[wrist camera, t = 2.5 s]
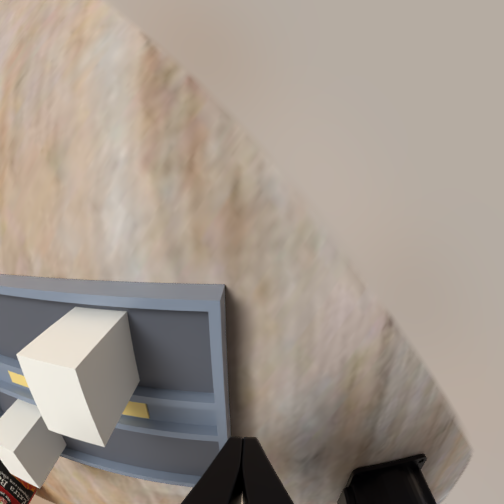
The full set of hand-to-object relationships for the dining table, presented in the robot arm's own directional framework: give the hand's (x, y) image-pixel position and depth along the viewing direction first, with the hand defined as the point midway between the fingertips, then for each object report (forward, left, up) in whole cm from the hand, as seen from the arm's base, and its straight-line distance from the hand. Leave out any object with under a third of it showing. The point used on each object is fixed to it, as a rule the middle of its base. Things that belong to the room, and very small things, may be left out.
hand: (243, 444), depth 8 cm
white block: (+15, +8, -5) cm, 18 cm away
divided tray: (+11, +4, -7) cm, 14 cm away
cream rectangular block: (+7, 0, -6) cm, 9 cm away
